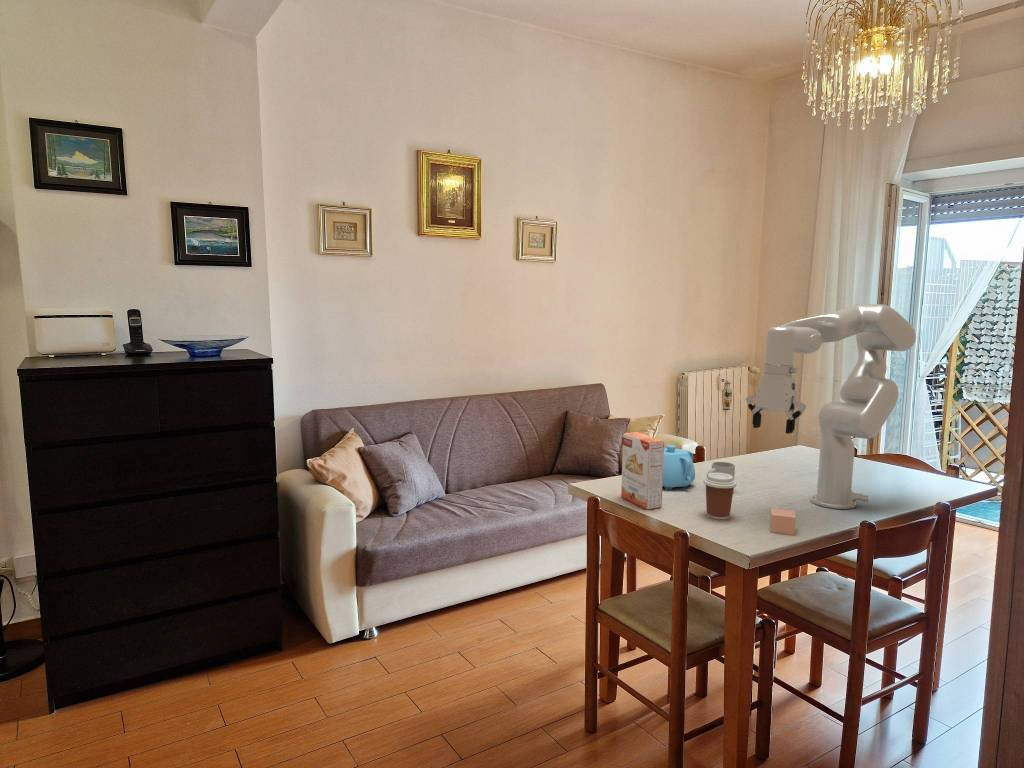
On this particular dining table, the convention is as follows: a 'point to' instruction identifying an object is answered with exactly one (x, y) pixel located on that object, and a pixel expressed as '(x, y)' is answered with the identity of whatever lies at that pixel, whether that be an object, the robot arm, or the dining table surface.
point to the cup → (722, 468)
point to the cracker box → (642, 470)
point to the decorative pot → (677, 467)
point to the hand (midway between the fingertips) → (772, 430)
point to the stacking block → (782, 521)
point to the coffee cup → (719, 495)
